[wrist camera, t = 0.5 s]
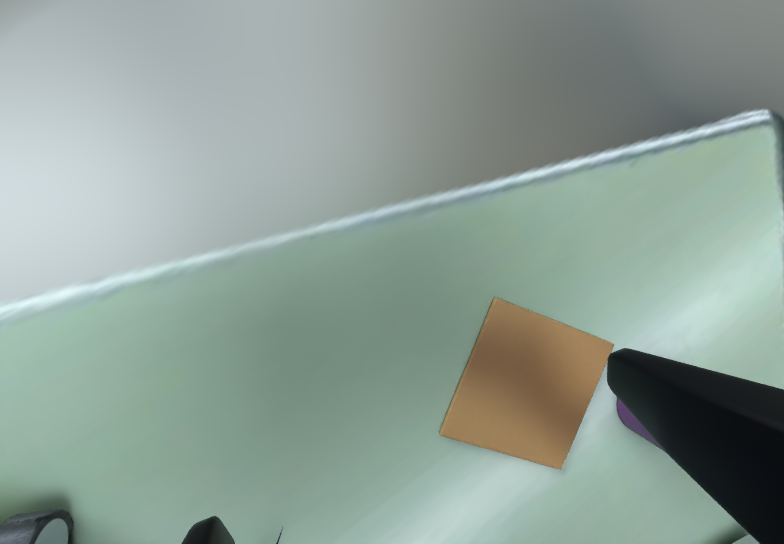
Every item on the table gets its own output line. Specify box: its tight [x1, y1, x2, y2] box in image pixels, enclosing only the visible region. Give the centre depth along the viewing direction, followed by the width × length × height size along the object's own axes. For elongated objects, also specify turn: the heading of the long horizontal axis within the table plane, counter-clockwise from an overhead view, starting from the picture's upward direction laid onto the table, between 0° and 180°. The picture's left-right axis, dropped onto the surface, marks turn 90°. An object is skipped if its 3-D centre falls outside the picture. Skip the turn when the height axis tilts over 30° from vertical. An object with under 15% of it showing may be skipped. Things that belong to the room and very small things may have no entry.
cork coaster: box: [439, 297, 614, 470], centre depth 26 cm, size 10×10×1 cm
